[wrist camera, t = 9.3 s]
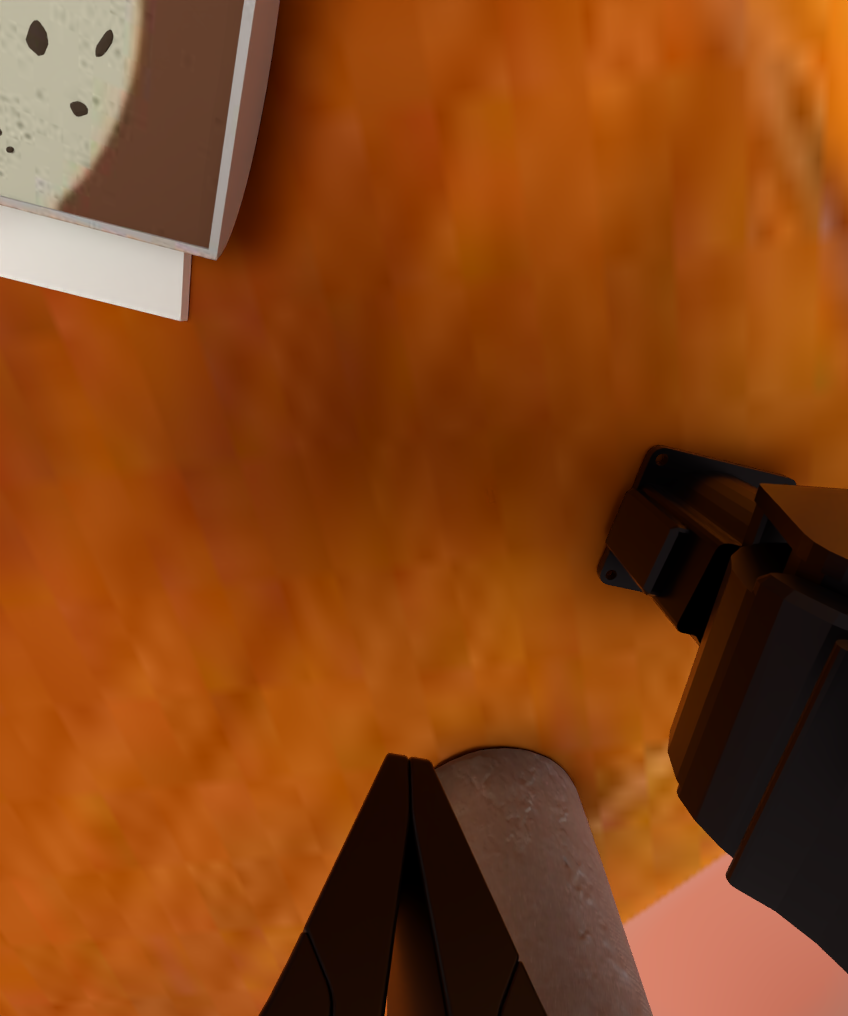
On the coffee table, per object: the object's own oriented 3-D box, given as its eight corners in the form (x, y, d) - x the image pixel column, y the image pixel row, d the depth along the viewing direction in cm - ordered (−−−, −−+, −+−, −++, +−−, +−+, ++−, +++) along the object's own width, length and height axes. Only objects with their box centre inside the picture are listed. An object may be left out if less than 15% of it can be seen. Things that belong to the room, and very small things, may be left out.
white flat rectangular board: (221, -272, 13) (212, -299, 12) (187, 320, 18) (180, 320, 18) (-238, -440, 12) (-270, -476, 11) (-129, 242, 17) (-147, 240, 17)
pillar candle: (386, 835, 29) (361, 1313, 15) (457, 722, 26) (505, 1204, 12) (529, 875, 31) (622, 1338, 17) (613, 773, 28) (812, 1248, 14)
